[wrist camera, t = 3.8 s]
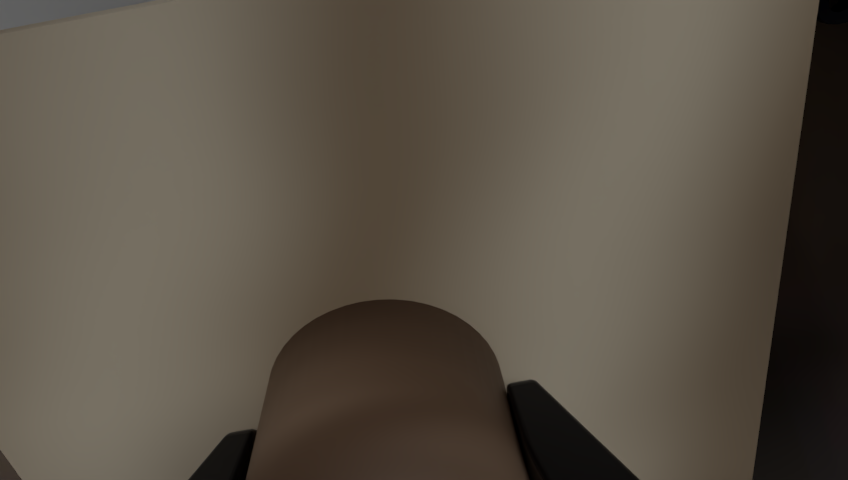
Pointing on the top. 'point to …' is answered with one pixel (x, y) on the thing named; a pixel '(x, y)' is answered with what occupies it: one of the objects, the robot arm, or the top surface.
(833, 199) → the top surface
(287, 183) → the cover
